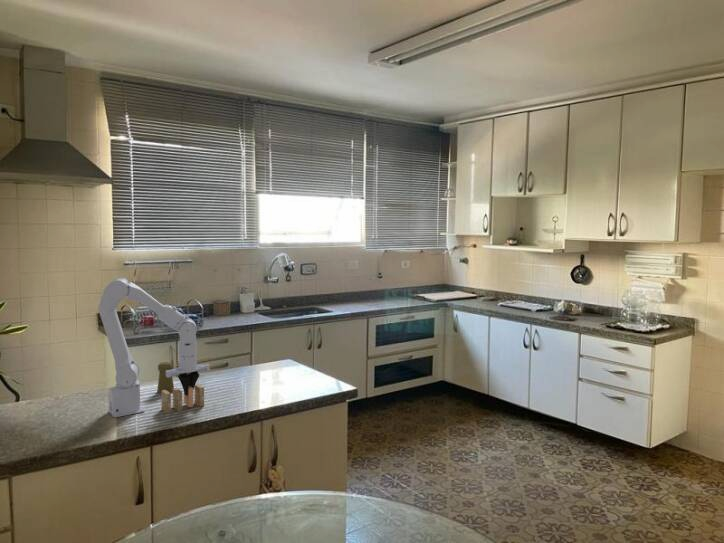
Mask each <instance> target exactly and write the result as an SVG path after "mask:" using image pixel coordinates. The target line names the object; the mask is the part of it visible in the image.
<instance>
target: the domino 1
mask: <svg viewBox="0 0 724 543" xmlns="http://www.w3.org/2000/svg"><path fill="white" fill-rule="evenodd" d="M160 395H161V410H162V411H163V412H164V413H165V414H167V413H168V414H171V413H172V393H169V392H168V391H166V390H162V391H161V394H160Z"/></svg>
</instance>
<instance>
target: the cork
mask: <svg viewBox="0 0 724 543" xmlns="http://www.w3.org/2000/svg"><path fill="white" fill-rule="evenodd" d="M172 369H174V366H173V363H172V362H171V361H163V362H159V364H158V365H157V370H158V372H159V375H158V382H157V392H156V394H159V395H161V391H162V390H166V391H168V392H169V393H171V394H173V388H175V387H174V380H173V376H171V377H166V371H167V370H172Z"/></svg>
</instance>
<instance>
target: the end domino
mask: <svg viewBox="0 0 724 543" xmlns="http://www.w3.org/2000/svg"><path fill="white" fill-rule="evenodd" d="M195 403H196V404H195ZM194 404H195V405H197V404H198V405H199V406H198V405H197V406H198V407H200V406H202V407H205V387H204V386H202V385H201V384H199V383H196V384H195V387H194Z"/></svg>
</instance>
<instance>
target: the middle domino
mask: <svg viewBox="0 0 724 543" xmlns="http://www.w3.org/2000/svg"><path fill="white" fill-rule="evenodd" d="M173 407H174V408H173ZM172 408H173V409H175V411H177V410H178V411H177V412H181V410H182V411H183V391H182V390H181V389H179V388H177V387H174V388H173V393H172Z"/></svg>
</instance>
